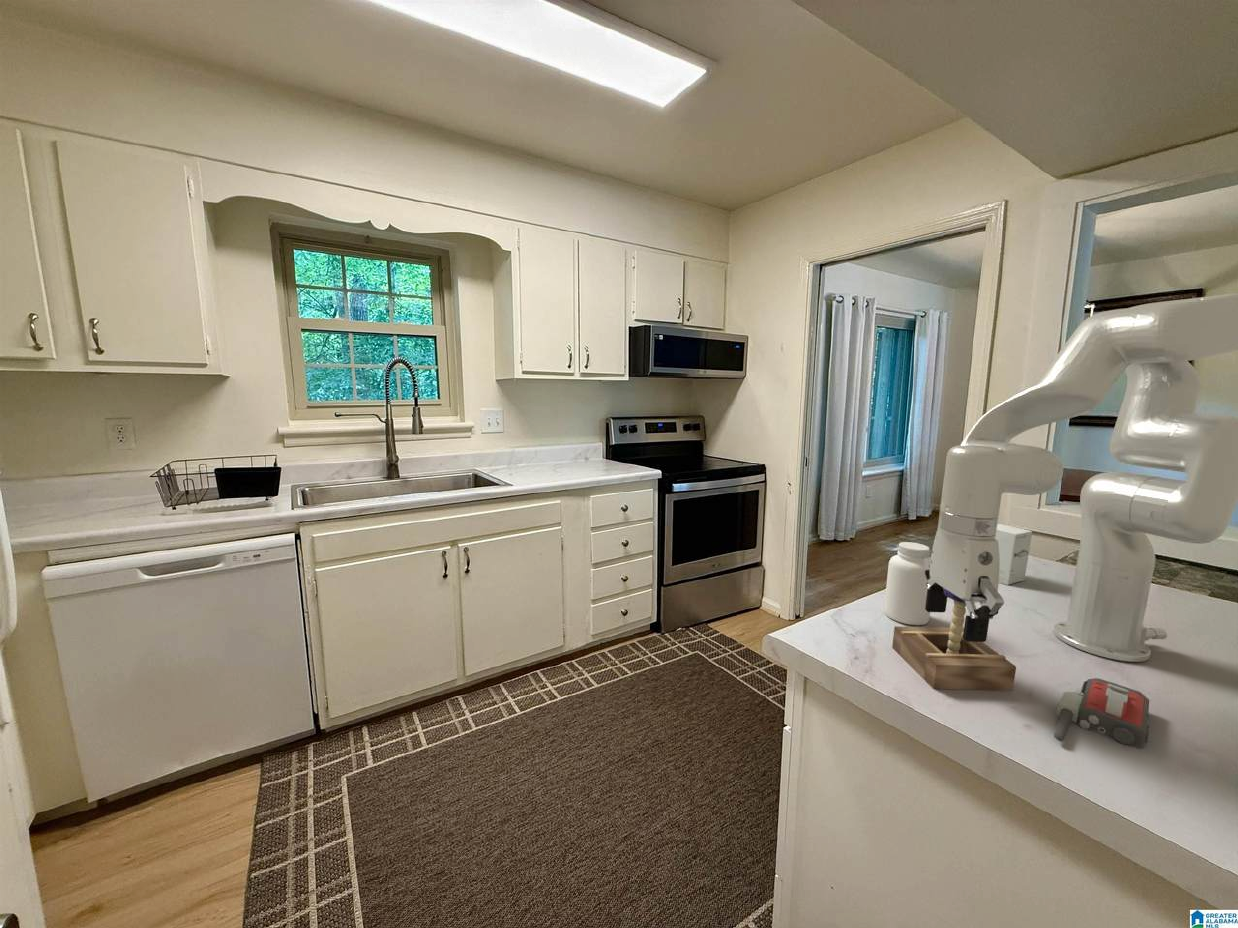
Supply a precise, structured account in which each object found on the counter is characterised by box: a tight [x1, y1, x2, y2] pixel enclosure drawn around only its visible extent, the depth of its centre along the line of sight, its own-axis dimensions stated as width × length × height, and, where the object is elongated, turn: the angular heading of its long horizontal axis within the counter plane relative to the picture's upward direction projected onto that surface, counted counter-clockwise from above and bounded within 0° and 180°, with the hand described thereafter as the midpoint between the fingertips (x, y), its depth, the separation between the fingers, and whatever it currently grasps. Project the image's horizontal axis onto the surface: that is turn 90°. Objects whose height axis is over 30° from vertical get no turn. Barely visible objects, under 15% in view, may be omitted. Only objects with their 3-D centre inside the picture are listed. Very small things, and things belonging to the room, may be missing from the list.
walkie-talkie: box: [1053, 677, 1150, 749], centre depth 67 cm, size 9×4×20 cm
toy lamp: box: [944, 588, 979, 654], centre depth 79 cm, size 5×5×17 cm
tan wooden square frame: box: [891, 626, 1017, 692], centre depth 81 cm, size 12×12×4 cm
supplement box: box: [995, 523, 1033, 586], centre depth 119 cm, size 7×7×13 cm
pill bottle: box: [883, 541, 931, 626], centre depth 98 cm, size 8×8×15 cm
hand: (953, 625), depth 80 cm, fingers open, 9 cm apart
